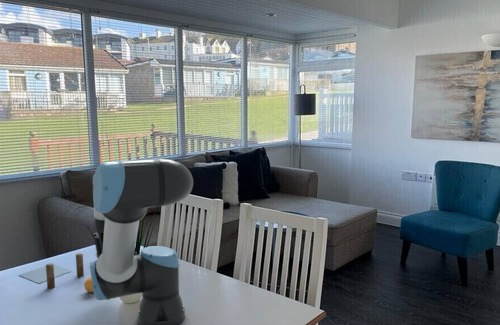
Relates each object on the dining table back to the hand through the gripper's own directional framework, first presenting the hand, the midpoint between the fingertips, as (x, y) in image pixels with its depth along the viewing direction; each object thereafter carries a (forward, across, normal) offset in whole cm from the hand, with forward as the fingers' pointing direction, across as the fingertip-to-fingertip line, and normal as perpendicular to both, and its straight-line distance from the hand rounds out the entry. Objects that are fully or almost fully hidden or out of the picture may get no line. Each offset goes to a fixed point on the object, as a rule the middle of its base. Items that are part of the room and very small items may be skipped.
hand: (108, 280), depth 146 cm
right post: (+7, +25, -6) cm, 27 cm away
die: (+7, +29, -22) cm, 37 cm away
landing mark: (+7, +39, 0) cm, 40 cm away
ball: (+4, +9, 0) cm, 10 cm away
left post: (+7, +25, +7) cm, 27 cm away
